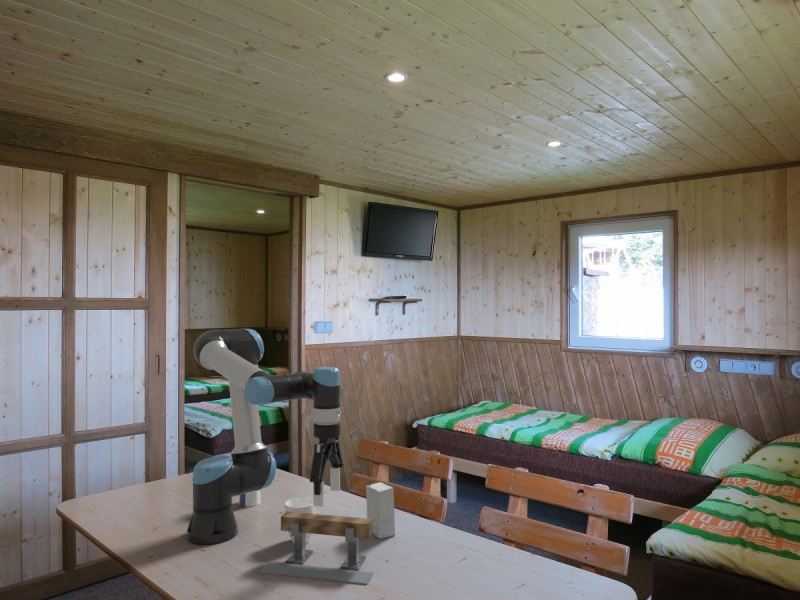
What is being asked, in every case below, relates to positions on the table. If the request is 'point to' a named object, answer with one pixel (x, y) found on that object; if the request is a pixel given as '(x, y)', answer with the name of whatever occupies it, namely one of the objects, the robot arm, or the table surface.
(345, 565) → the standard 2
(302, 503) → the mug
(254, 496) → the water bottle
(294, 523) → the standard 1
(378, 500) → the skincare box
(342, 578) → the mat
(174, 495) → the table surface
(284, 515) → the rail
